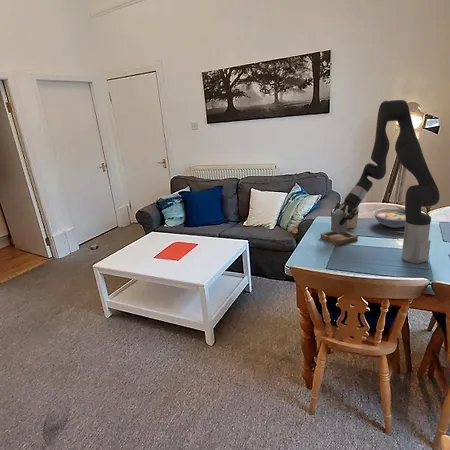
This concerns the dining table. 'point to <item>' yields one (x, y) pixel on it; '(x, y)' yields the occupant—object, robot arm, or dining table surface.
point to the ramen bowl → (391, 217)
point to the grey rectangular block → (335, 220)
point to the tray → (339, 237)
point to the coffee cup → (353, 220)
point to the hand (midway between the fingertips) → (336, 222)
